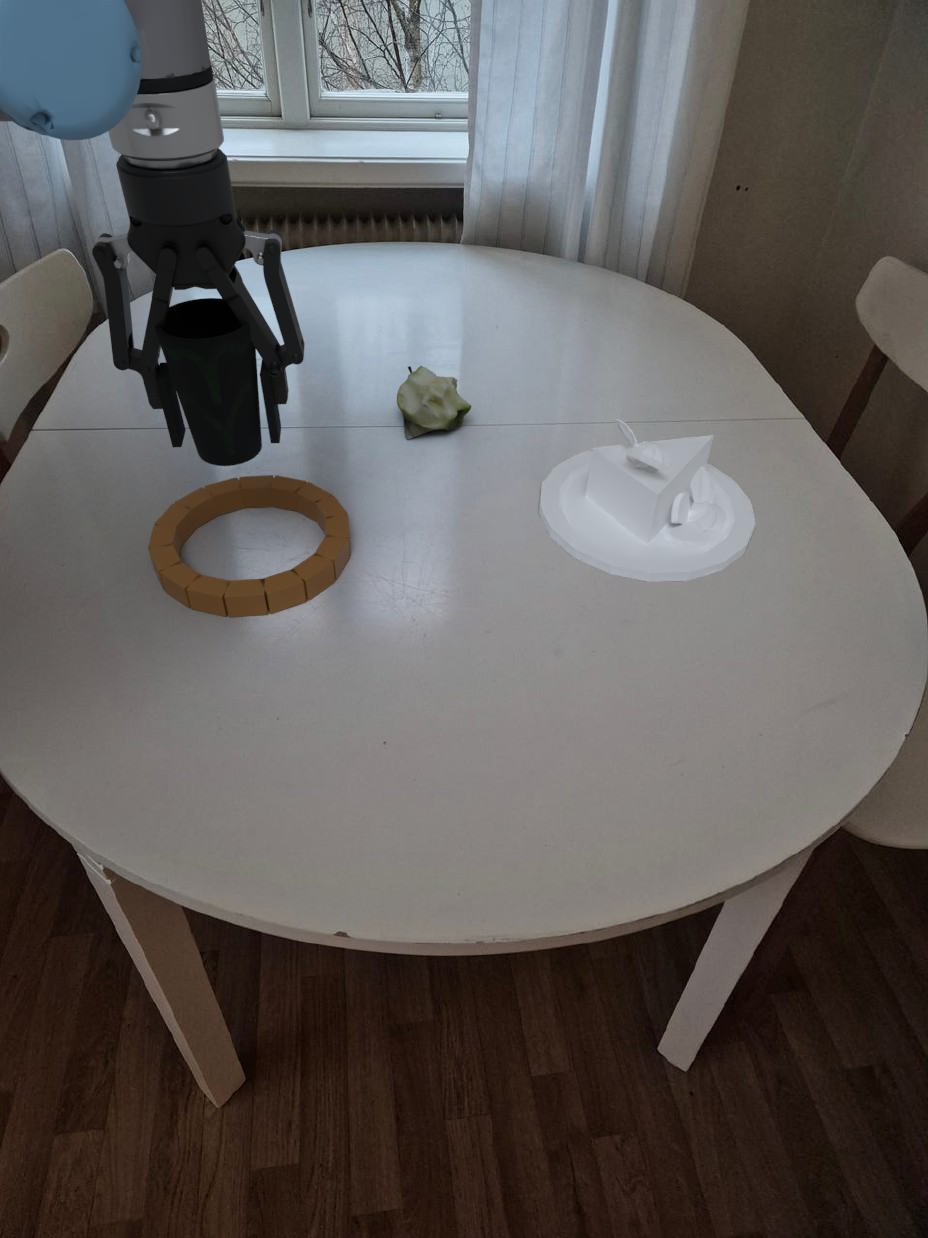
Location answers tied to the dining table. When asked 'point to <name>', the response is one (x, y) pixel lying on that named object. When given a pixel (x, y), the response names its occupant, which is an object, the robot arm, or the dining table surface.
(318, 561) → the orange-brown segmented ring
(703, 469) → the dish
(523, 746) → the dining table surface
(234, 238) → the robot arm
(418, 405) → the fruit
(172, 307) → the cup
